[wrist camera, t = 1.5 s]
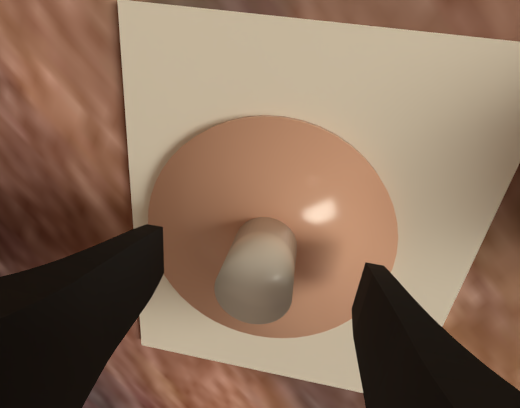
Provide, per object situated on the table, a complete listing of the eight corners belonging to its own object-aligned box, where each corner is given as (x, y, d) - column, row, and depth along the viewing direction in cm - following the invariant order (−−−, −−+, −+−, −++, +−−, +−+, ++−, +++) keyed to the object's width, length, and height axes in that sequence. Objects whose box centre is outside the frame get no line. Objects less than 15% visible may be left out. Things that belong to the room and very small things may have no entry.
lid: (360, 346, 15) (372, 426, 12) (157, 305, 16) (117, 368, 13) (431, 136, 11) (481, 168, 7) (149, 97, 12) (86, 111, 8)
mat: (404, 394, 16) (406, 402, 16) (145, 339, 18) (141, 345, 17) (564, 48, 9) (574, 47, 9) (123, 1, 11) (117, -1, 10)
